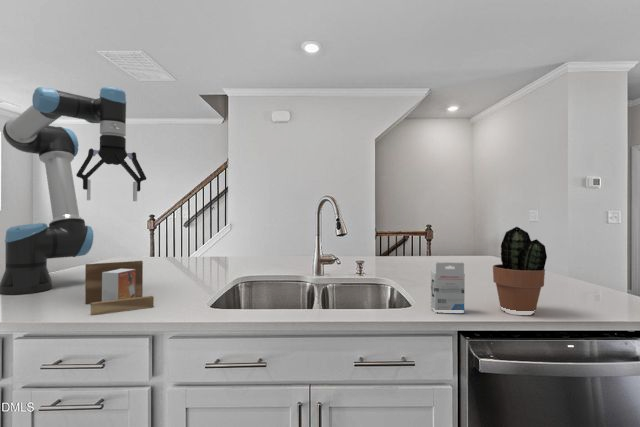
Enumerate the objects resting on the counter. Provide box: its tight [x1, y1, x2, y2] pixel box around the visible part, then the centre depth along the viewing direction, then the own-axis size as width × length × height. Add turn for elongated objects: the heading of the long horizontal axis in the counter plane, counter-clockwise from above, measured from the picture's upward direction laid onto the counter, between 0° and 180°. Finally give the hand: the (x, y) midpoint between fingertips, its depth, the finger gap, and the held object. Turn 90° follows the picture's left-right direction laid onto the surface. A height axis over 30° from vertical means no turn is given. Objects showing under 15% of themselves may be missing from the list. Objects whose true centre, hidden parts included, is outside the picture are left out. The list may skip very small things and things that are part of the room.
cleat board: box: [84, 260, 155, 316], centre depth 118 cm, size 17×16×12 cm
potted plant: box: [492, 226, 548, 311], centre depth 114 cm, size 14×14×25 cm
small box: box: [102, 269, 136, 301], centre depth 118 cm, size 8×6×10 cm
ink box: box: [430, 261, 466, 311], centre depth 114 cm, size 8×5×15 cm, turn 90°
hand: (112, 200), depth 128 cm, fingers open, 13 cm apart
